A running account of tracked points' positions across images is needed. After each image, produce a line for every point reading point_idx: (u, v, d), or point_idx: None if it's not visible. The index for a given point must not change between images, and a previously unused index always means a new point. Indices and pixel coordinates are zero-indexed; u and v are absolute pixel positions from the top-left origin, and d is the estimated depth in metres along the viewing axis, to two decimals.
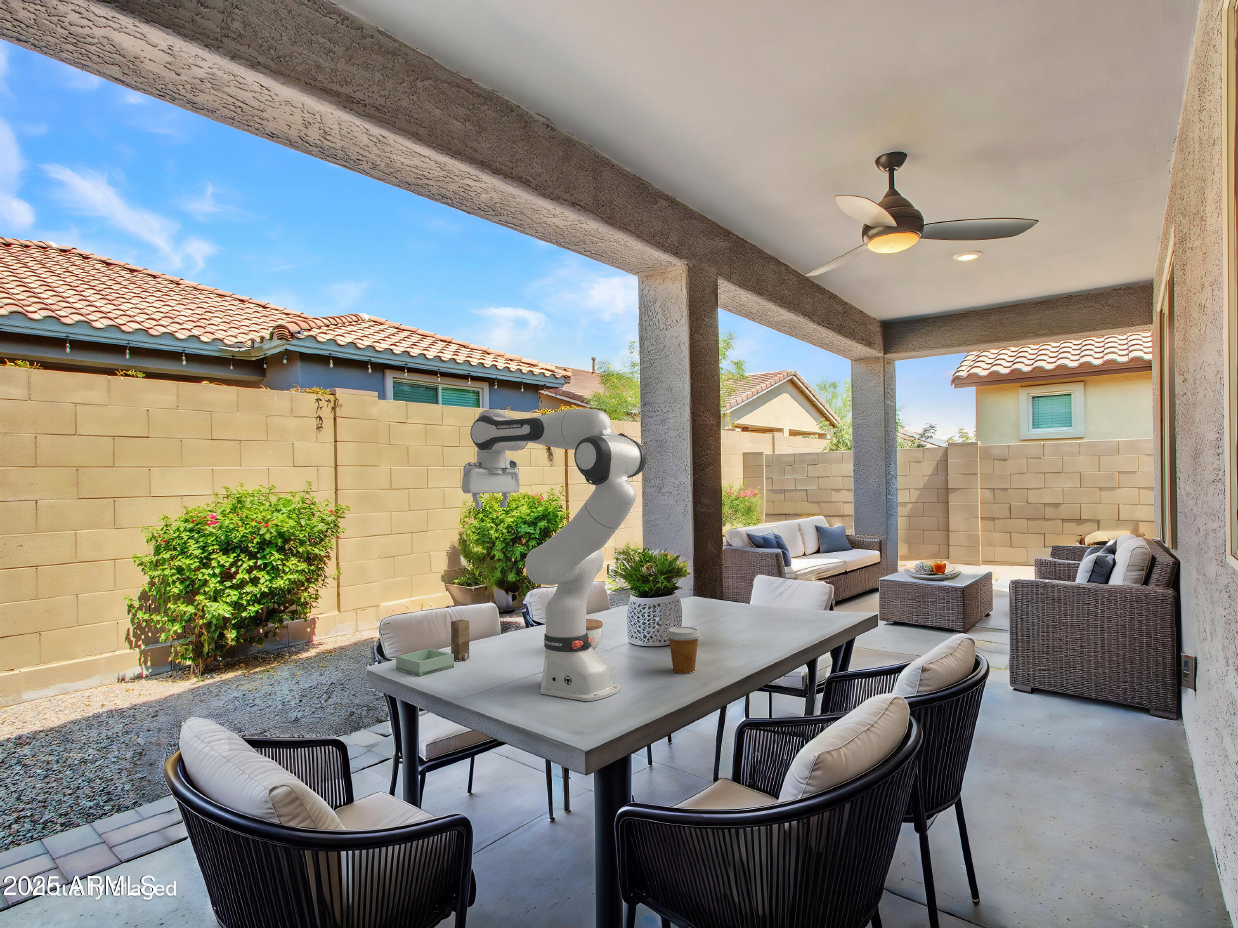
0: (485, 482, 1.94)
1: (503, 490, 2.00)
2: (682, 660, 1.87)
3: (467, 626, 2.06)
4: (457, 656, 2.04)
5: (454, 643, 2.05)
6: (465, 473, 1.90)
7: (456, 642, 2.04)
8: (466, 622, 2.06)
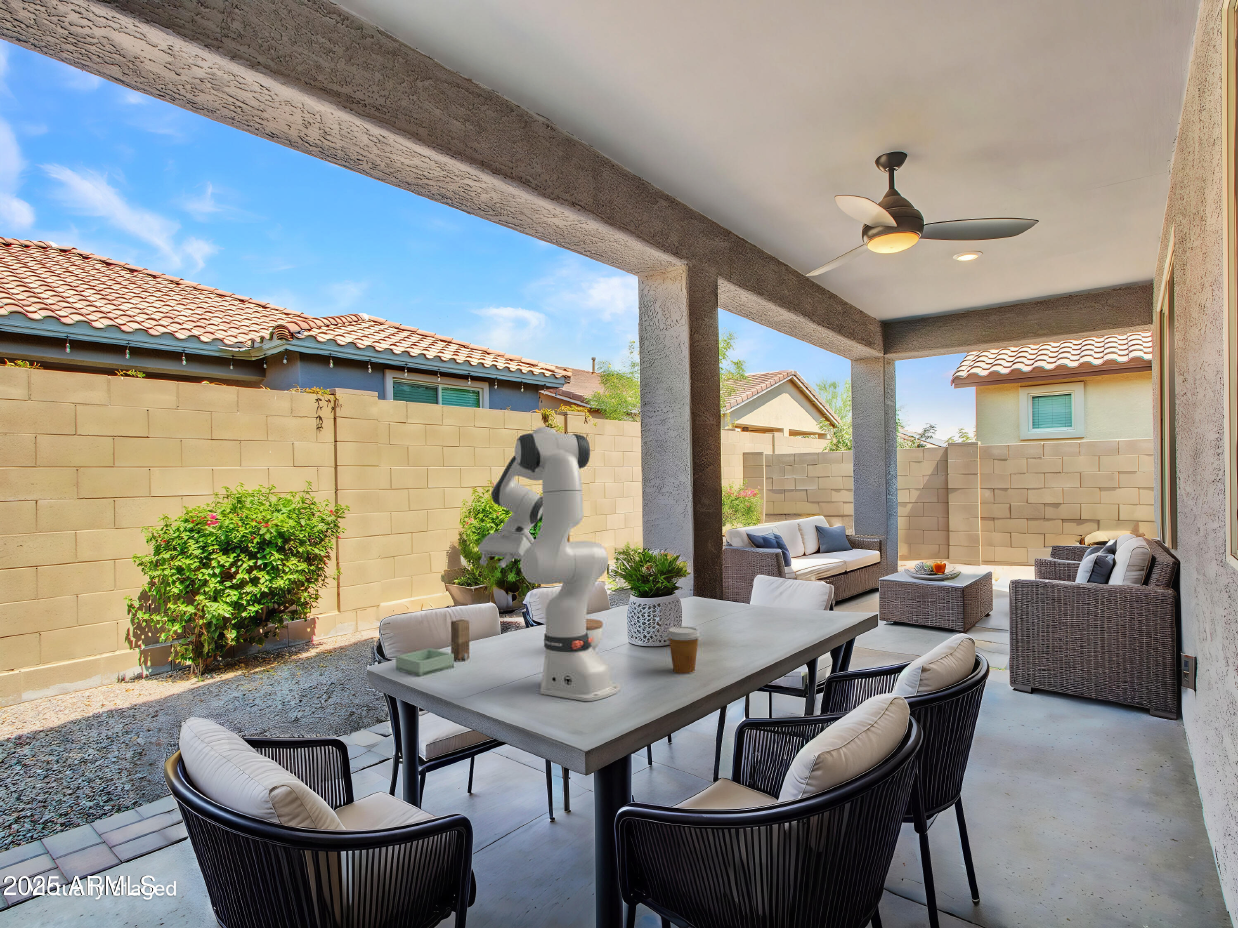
0: (493, 542, 2.23)
1: (503, 549, 2.17)
2: (682, 660, 1.87)
3: (467, 626, 2.06)
4: (457, 656, 2.04)
5: (454, 643, 2.05)
6: None
7: (456, 642, 2.04)
8: (466, 622, 2.06)
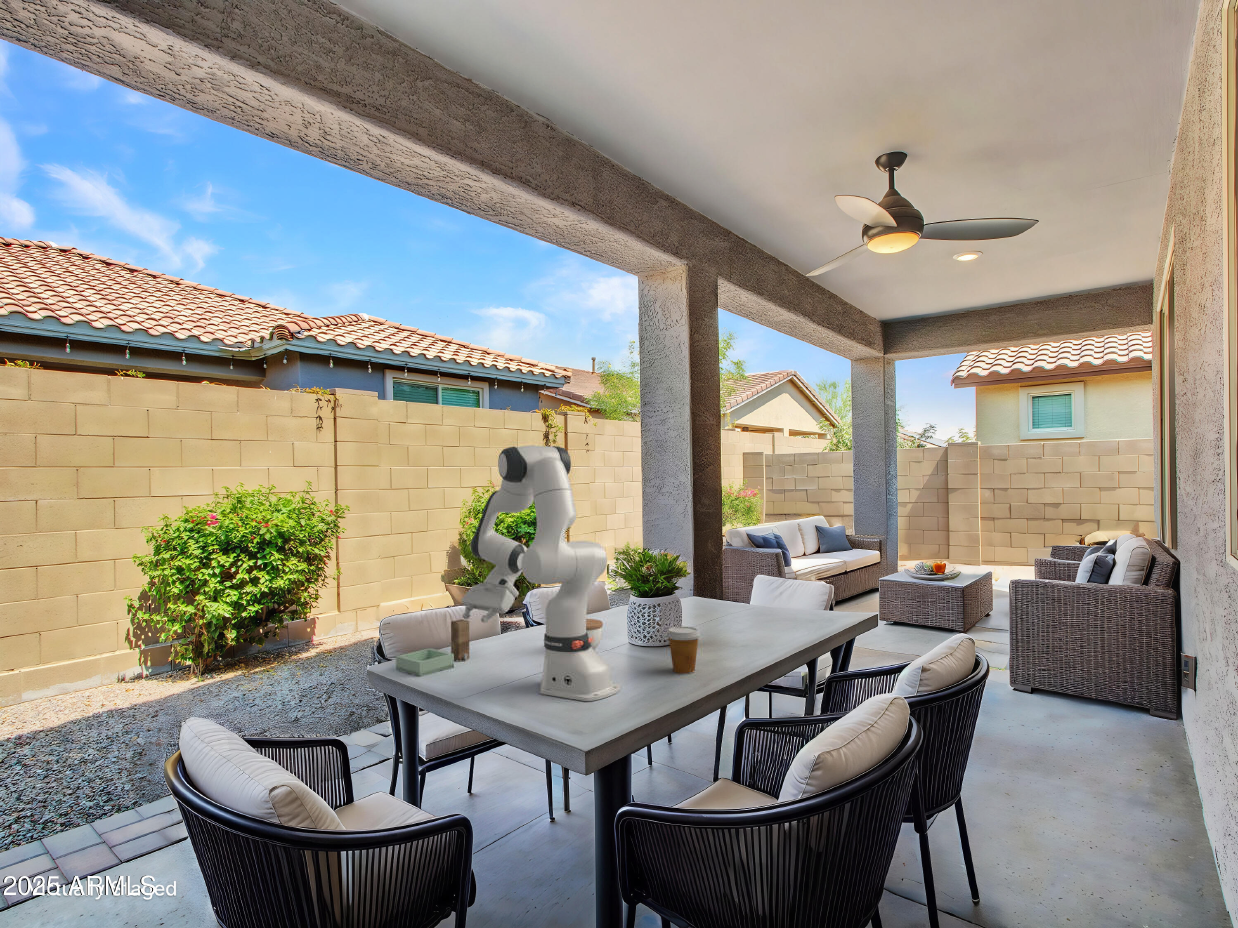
0: (476, 595, 2.16)
1: (486, 603, 2.11)
2: (682, 660, 1.87)
3: (467, 626, 2.06)
4: (457, 656, 2.04)
5: (454, 643, 2.05)
6: None
7: (456, 642, 2.04)
8: (466, 622, 2.06)
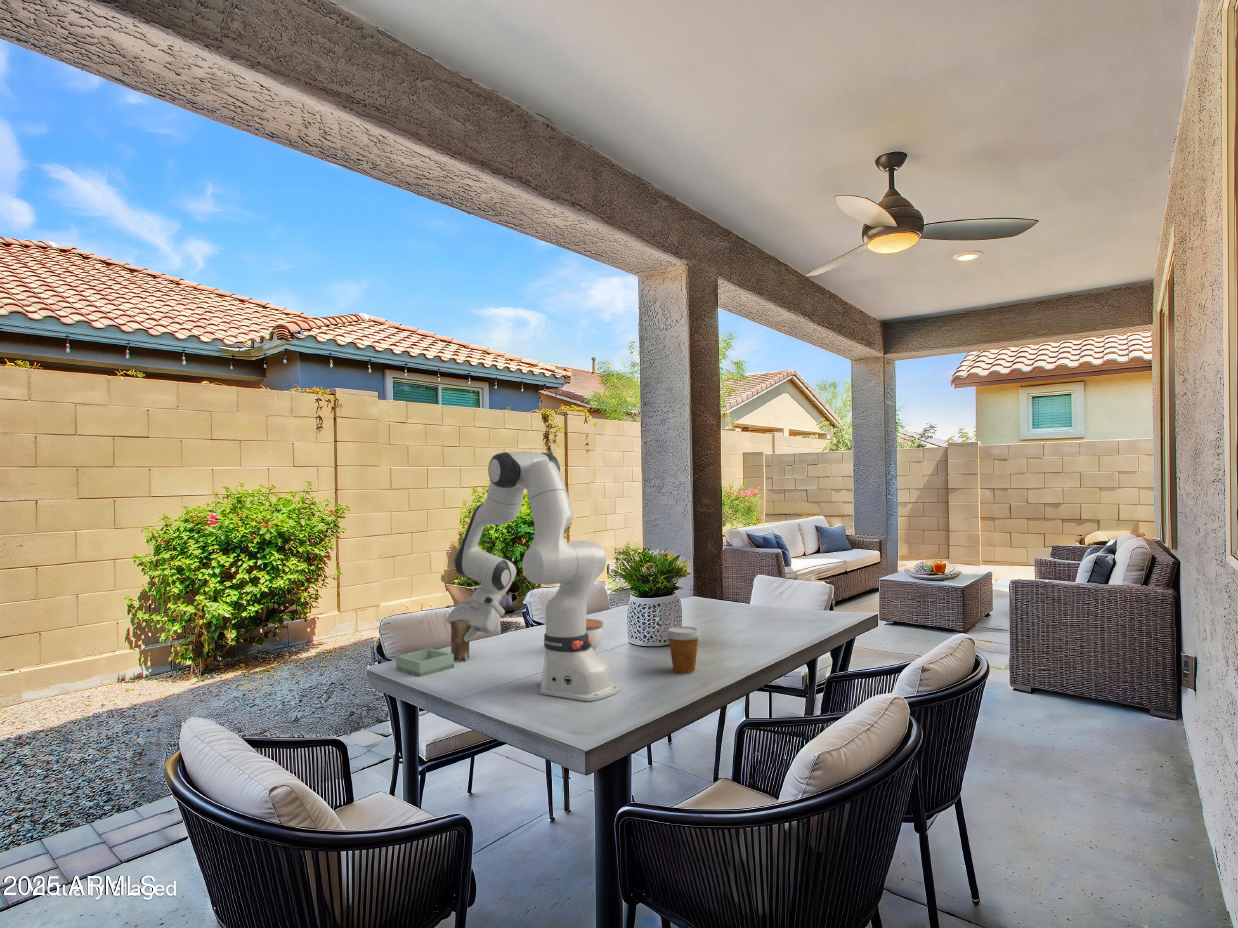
0: (461, 614, 2.11)
1: (471, 622, 2.06)
2: (682, 660, 1.87)
3: (467, 626, 2.06)
4: (457, 656, 2.04)
5: (454, 643, 2.05)
6: None
7: (456, 642, 2.04)
8: (466, 622, 2.06)
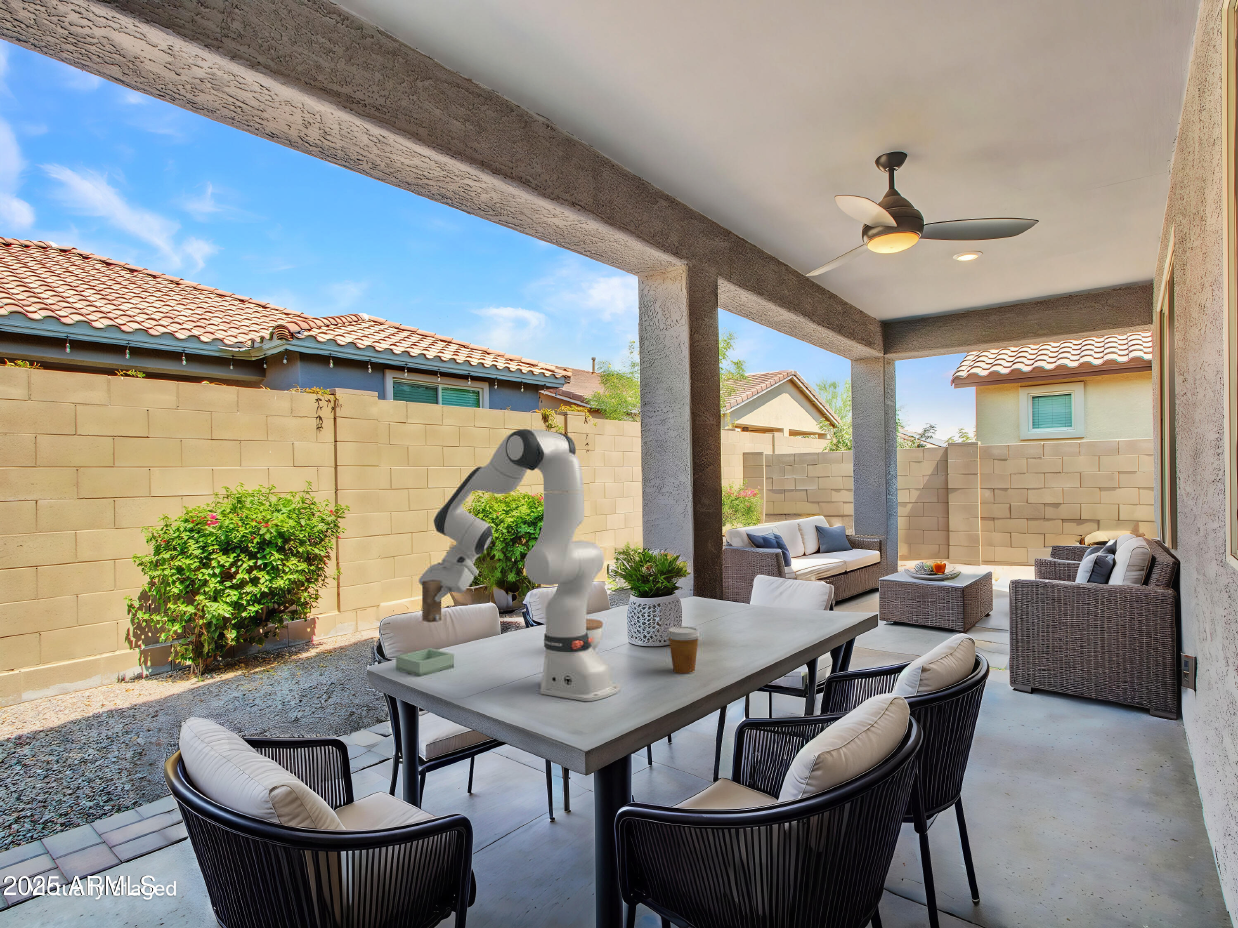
0: (434, 574, 2.04)
1: (443, 582, 1.98)
2: (682, 660, 1.87)
3: (439, 586, 1.98)
4: (428, 617, 1.96)
5: (425, 603, 1.97)
6: None
7: (427, 602, 1.96)
8: (438, 582, 1.98)
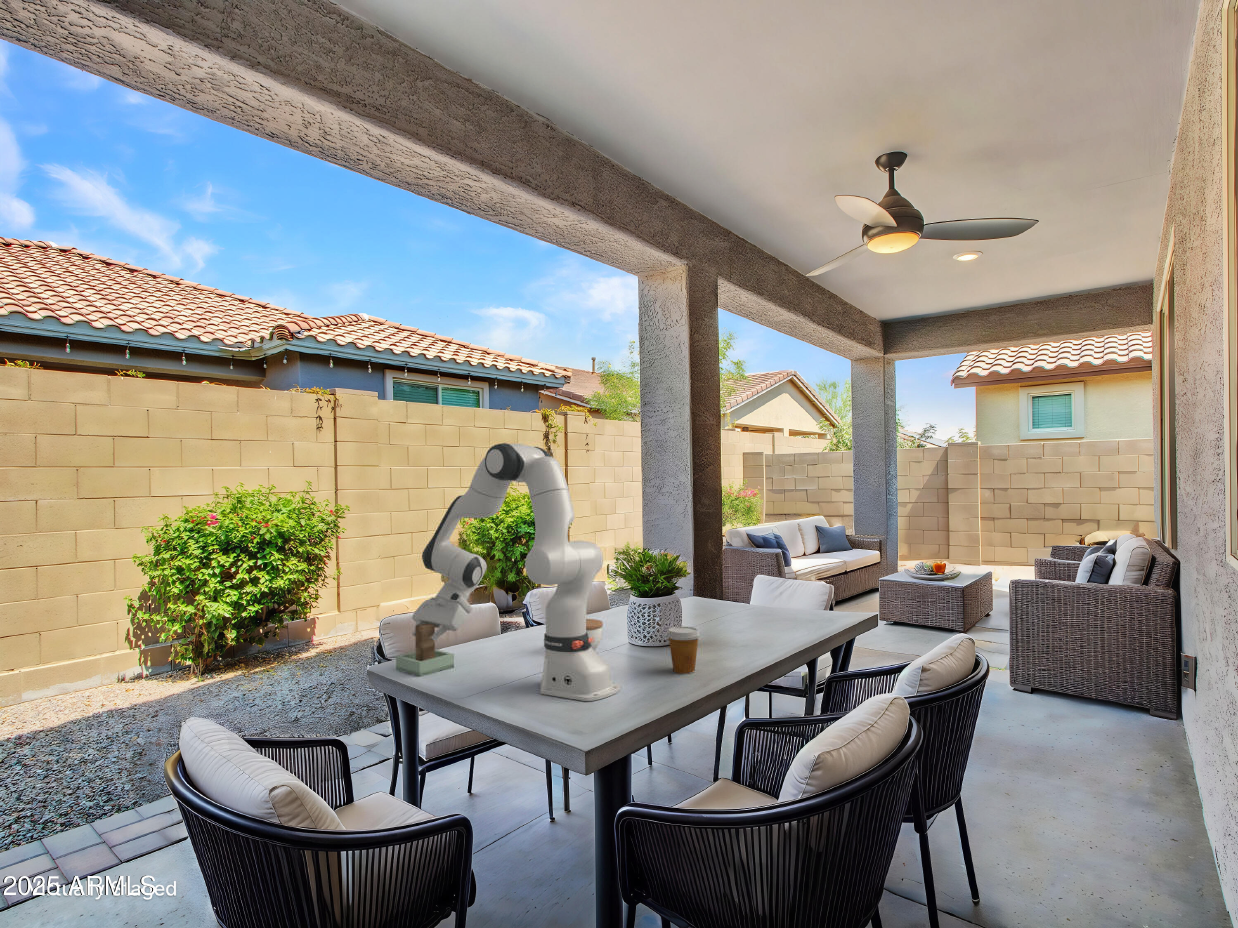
0: (427, 611, 2.01)
1: (436, 620, 1.96)
2: (682, 660, 1.87)
3: (432, 630, 1.96)
4: None
5: (418, 648, 1.94)
6: None
7: (420, 647, 1.94)
8: (431, 626, 1.96)
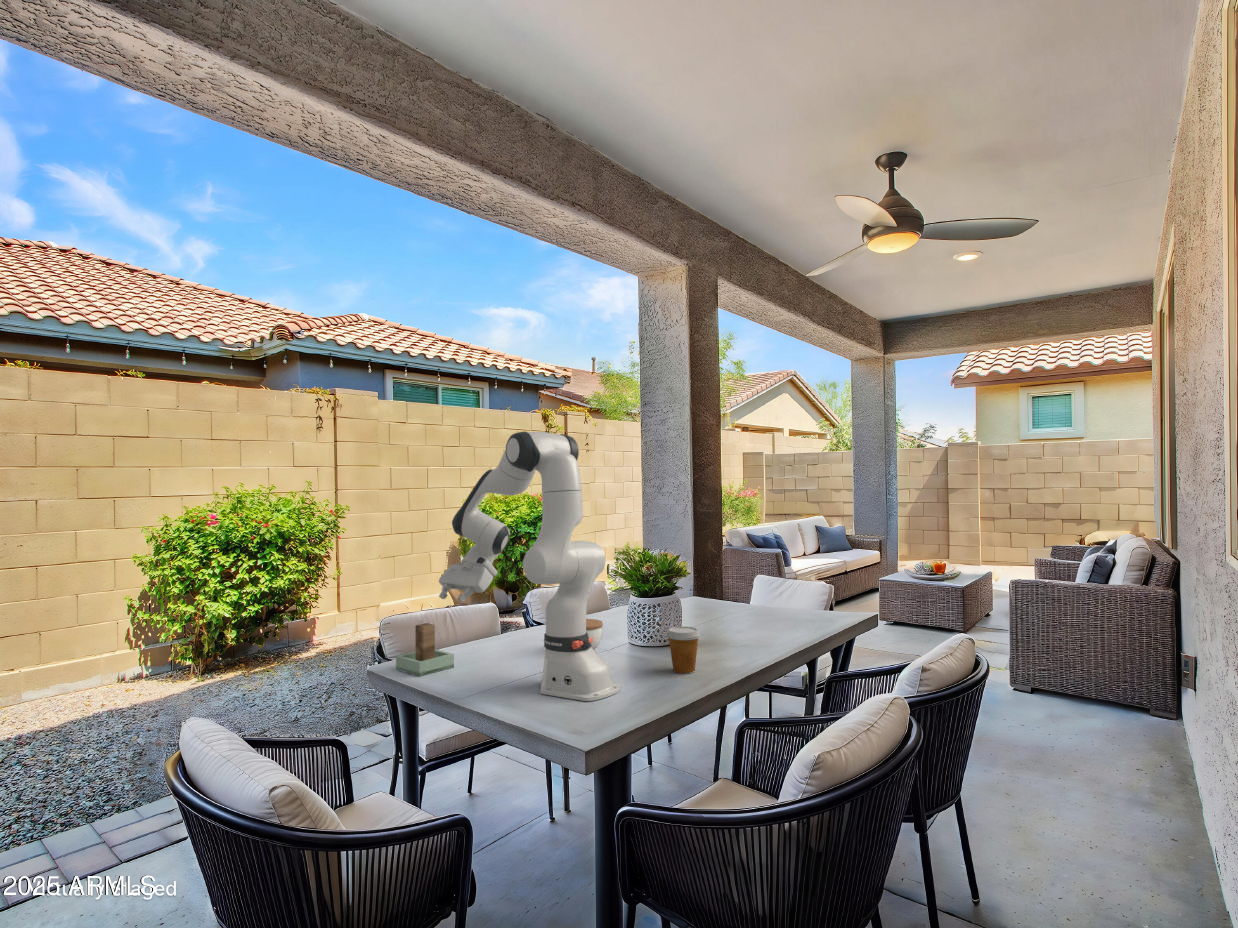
0: (454, 575, 2.10)
1: (463, 582, 2.04)
2: (682, 660, 1.87)
3: (432, 630, 1.96)
4: None
5: (418, 648, 1.94)
6: None
7: (420, 647, 1.94)
8: (431, 626, 1.96)
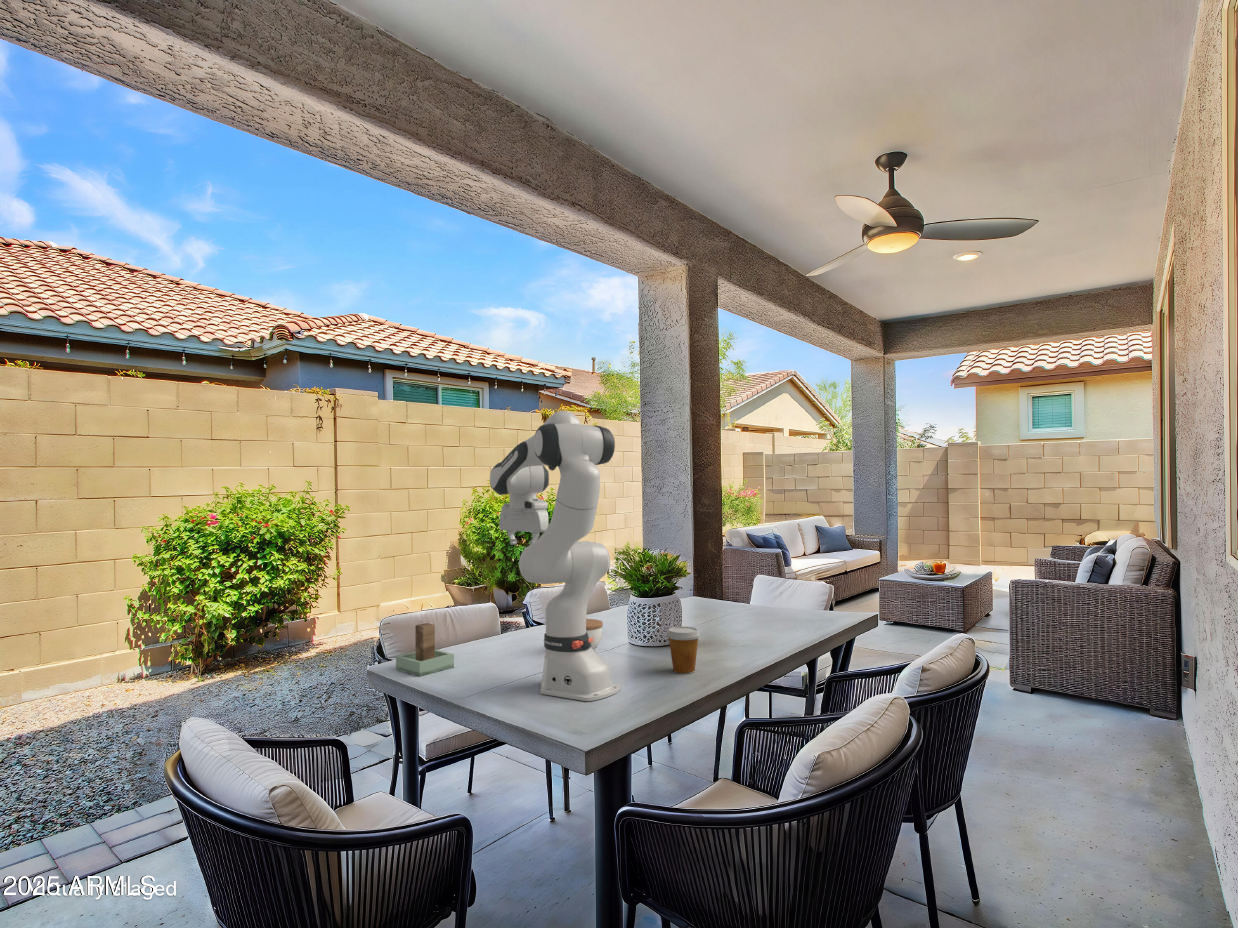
0: (511, 521, 2.16)
1: (525, 529, 2.12)
2: (682, 660, 1.87)
3: (432, 630, 1.96)
4: None
5: (418, 648, 1.94)
6: None
7: (420, 647, 1.94)
8: (431, 626, 1.96)
